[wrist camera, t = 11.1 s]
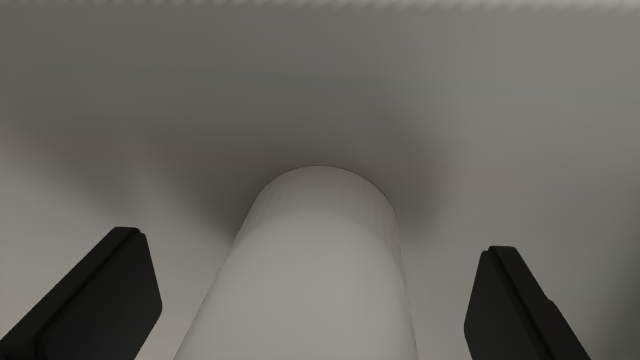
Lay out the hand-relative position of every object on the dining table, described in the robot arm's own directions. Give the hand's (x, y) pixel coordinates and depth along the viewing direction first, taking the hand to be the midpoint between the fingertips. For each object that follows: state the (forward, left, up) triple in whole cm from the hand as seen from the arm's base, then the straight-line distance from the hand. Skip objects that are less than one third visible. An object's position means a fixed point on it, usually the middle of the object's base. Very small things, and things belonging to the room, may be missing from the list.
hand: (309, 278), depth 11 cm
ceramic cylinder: (0, 0, -2) cm, 2 cm away
